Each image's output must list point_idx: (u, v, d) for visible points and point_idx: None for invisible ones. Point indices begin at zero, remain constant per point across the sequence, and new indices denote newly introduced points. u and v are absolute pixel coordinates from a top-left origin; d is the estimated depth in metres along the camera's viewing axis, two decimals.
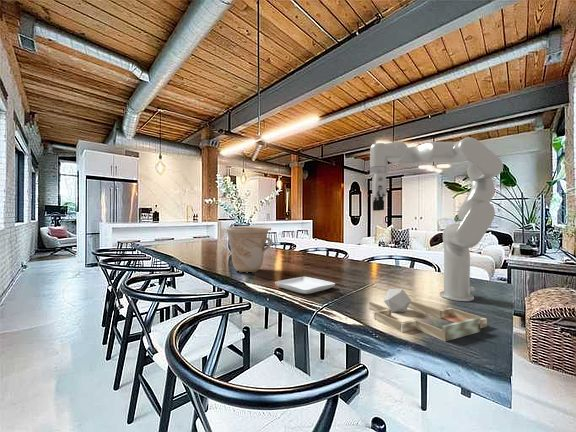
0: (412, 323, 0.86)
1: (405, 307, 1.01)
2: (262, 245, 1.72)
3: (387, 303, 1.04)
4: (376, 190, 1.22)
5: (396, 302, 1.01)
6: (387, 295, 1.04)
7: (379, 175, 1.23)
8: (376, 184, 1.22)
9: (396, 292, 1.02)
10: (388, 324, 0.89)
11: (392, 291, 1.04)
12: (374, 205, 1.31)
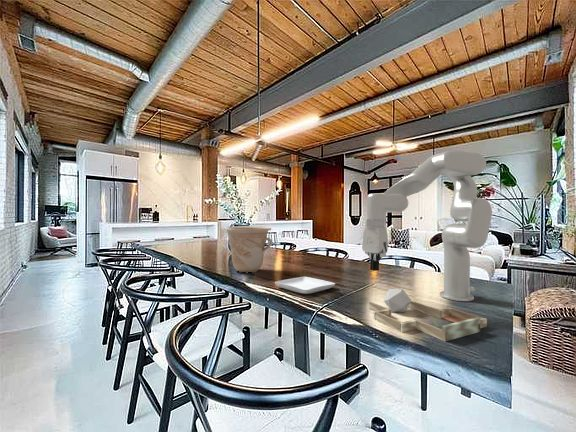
0: (412, 323, 0.86)
1: (405, 307, 1.01)
2: (262, 245, 1.72)
3: (387, 303, 1.04)
4: None
5: (396, 302, 1.01)
6: (387, 295, 1.04)
7: None
8: None
9: (396, 292, 1.02)
10: (388, 324, 0.89)
11: (392, 291, 1.04)
12: None
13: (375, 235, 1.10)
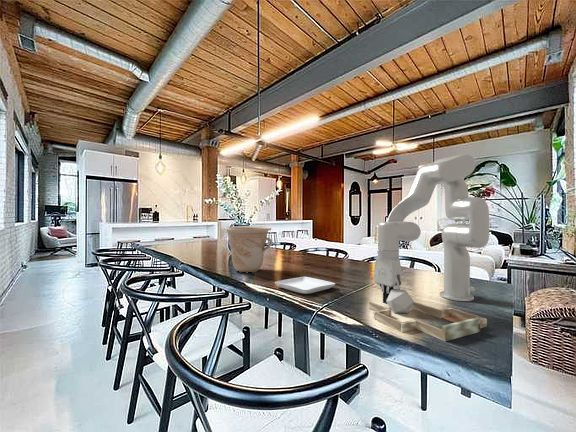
0: (412, 323, 0.86)
1: (408, 308, 1.00)
2: (262, 245, 1.72)
3: (389, 304, 1.03)
4: None
5: (398, 304, 0.99)
6: (389, 296, 1.03)
7: None
8: None
9: (399, 293, 1.01)
10: (388, 324, 0.89)
11: (395, 292, 1.02)
12: None
13: (388, 267, 1.04)
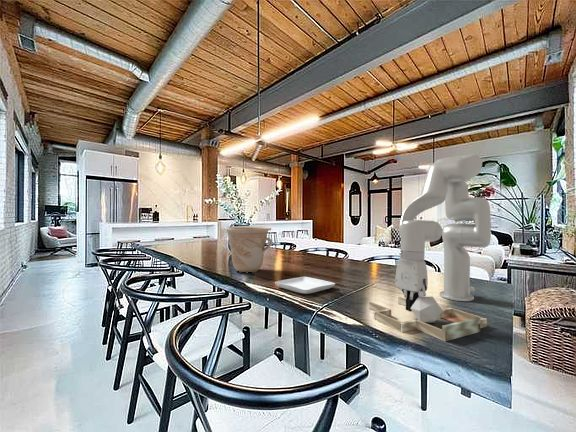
0: (412, 323, 0.86)
1: None
2: (262, 245, 1.72)
3: (416, 312, 0.92)
4: None
5: (428, 315, 0.89)
6: (417, 304, 0.92)
7: None
8: None
9: (429, 303, 0.90)
10: (388, 324, 0.89)
11: (424, 300, 0.91)
12: None
13: (412, 270, 0.94)
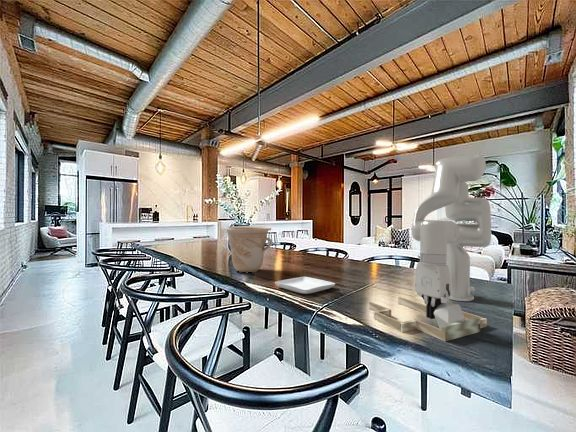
0: (412, 323, 0.86)
1: None
2: (262, 245, 1.72)
3: (440, 321, 0.85)
4: None
5: None
6: (444, 313, 0.84)
7: None
8: None
9: (459, 316, 0.83)
10: (388, 324, 0.89)
11: (454, 312, 0.84)
12: None
13: (434, 274, 0.86)
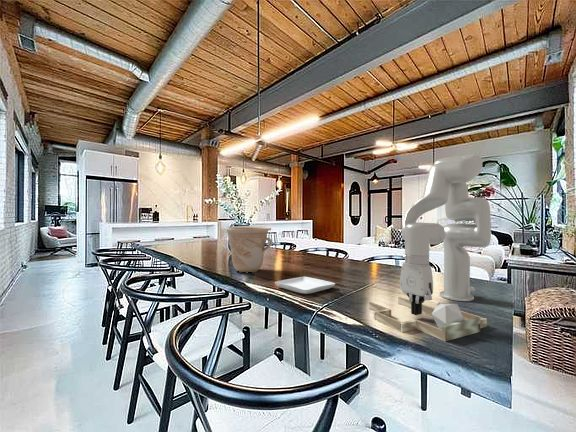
0: (412, 323, 0.86)
1: None
2: (262, 245, 1.72)
3: (438, 321, 0.86)
4: None
5: None
6: (442, 314, 0.85)
7: None
8: None
9: (456, 315, 0.83)
10: (388, 324, 0.89)
11: (451, 311, 0.84)
12: None
13: (418, 274, 0.93)
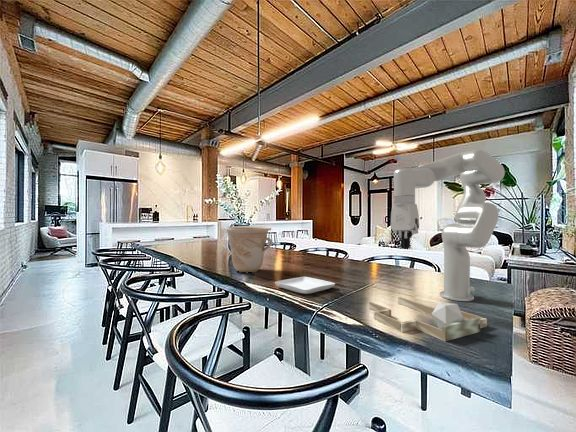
0: (412, 323, 0.86)
1: None
2: (262, 245, 1.72)
3: (438, 321, 0.86)
4: None
5: None
6: (442, 314, 0.85)
7: None
8: None
9: (456, 315, 0.83)
10: (388, 324, 0.89)
11: (451, 311, 0.84)
12: None
13: (406, 212, 1.06)
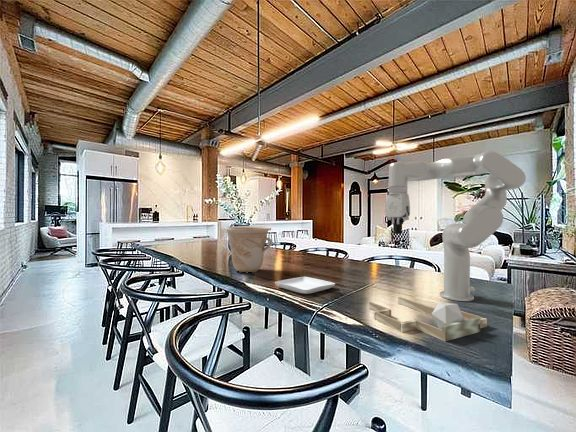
0: (412, 323, 0.86)
1: None
2: (262, 245, 1.72)
3: (438, 321, 0.86)
4: None
5: None
6: (442, 314, 0.85)
7: None
8: None
9: (456, 315, 0.83)
10: (388, 324, 0.89)
11: (451, 311, 0.84)
12: None
13: (398, 200, 1.20)
